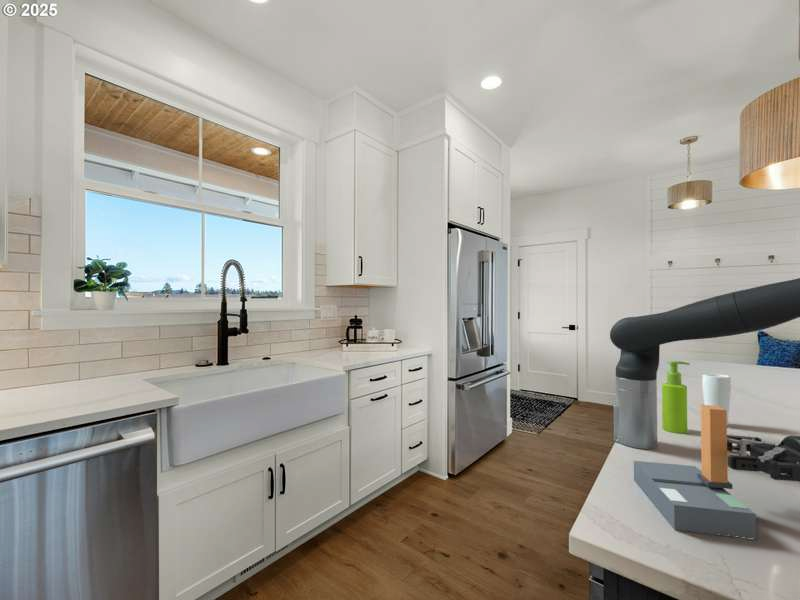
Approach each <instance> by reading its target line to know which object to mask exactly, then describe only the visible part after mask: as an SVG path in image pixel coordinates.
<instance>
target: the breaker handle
mask: <svg viewBox="0 0 800 600" xmlns="http://www.w3.org/2000/svg"><path fill="white" fill-rule="evenodd" d="M727 435H728V426H727V410H725V409H723V408H721V407H719V406H714V405H704V404H701V405H700V438H701V441H700V442H701V443H700V445H701V449H700V451H701V452H700V453H701V471H702V474H699V473H697V478H698V479H700V480H701V481H702V482H703V483H704V484H706V485H707V486H708V487H716V488H723V489H725V490H733V483H731V482H730V481H728V474H729V473H728V453H727Z"/></svg>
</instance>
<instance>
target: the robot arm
mask: <svg viewBox="0 0 800 600" xmlns="http://www.w3.org/2000/svg"><path fill="white" fill-rule="evenodd" d="M799 318H800V277H798V278H793V279H790V280H784V281H780V282H774V283H769V284H765V285H760V286H756V287H752V288H746V289H741V290H735V291H732V292H728V293H725V294H721V295H716V296H713V297H710V298H709V297H708V298H705V299H700V300H698V301H695V302H693V303H689V304H685V305H683V306H680V307H677V308H673V309H670V310H667V311H665V312H664V311H663V312H659V313H658V312H657V313H651V314H648V315H647V314H645V315H640V316H629V317H624V318H621V319H619V320H618V321H616V322H615V323H614V324H613V325H612V326H611V328H610V332H609V339H610V341H611V343H612V344H613V345H614V346H615V347H616V348H617V349H619V350H620V357H619V360H618V363H617V364H616V366H615V404H614V405H613V441H614V442H617V443H620V444H622V445H624V446H627V447H632V448H636V449H643V450H644V449H646V450H649V449H650V450H652V449H656V448H657V447H658V385H657V382H658V380H657V378H658V376H657V375H658V370H659V367H660V351H661V349H660V346H661V345H665V344H669V343H673V342H679V341H690V340H691V341H693V340H704V339H705V340H706V339H707V340H708V339H715V338H724V337H730V336H737V335H743V334H748V333H754V332H759V331H763V330H766V329H770V328H773V327H776V326H780V325H782V324H785V323H787V322H791V321H793V320H796V319H799ZM618 436H619V437H618ZM617 439H618V440H617ZM616 440H617V441H616ZM733 444H734V445H733ZM748 452H749V453H748ZM727 454H729V455H727V467H728V468H730V469H732V470H734V471H744V472H757V473H758V474H760V475H765V476H766V475H769V477H770V478H771V479H773V480H775V481H787V482H798V483H800V436H799V435H787V436H785V437H784V438H783V439H782V440H781V442H780V443H778V445H777V444H776V443H773V442H770V441H765V440H764V441H762V438H760V437H757V436H742V435H741V436H740V435H730V434H727Z"/></svg>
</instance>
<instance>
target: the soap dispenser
mask: <svg viewBox="0 0 800 600" xmlns="http://www.w3.org/2000/svg"><path fill="white" fill-rule="evenodd" d="M666 363H667V365H670V366H669V367H670V371H668V372H666V382H664V383H661V399H662V400H661V409H662V410H661V411H662V413H661V418H662V419H661V421H662V422H661V423H662V428H661V429H662V430H663V431H666V432H668V433H669V432H670V433H674V434H687V433H688V388H687V387H688V386H687V385H685V384H682V373H681V372H680V371H678V369H679V368H678V365H687V366H689V365H690V363H689V362H684V361H681V360H670V361H667V362H666Z"/></svg>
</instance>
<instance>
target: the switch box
mask: <svg viewBox="0 0 800 600" xmlns="http://www.w3.org/2000/svg"><path fill="white" fill-rule="evenodd" d="M697 473H699V474H702V469H700V468H699V467H697V466H696V465H688V464H675V463H664V462H652V461H640V460H633V481H634V482H635V484H636V485H637V486H638V487H639V488H640V489H641V491H642V492H643V493H644V494H645V495H646V497H647V498H648V499H649V501H650V502H651V503H652V504H653V505H654V507H655V508H656V509H657V510H658V511H659V513H660V514H661V515H662V517H663V518H664V519H665V520H666V521H667V522H668V523H669V525H670V526H671V528H672V529H673V528H674V529H673V530H674V531H680V530H682V531H681V532H688V531H690V532H689V533H697V532H698V534H705V533H708V534H707V535H713V534H718V535H717V536H721V535H727V536H726V537H729V536H738V537H745V538H744V539H746V538H754V539H756V536H757V535H756V512H754V511H753V510H751V509H750V508H749V507H748V506H746V505H745V504H744V503H742V502H741V501H740V500H739V499H738V498H736V497H735V496H733V495H732V494H731V493H729V491H727V489H726V488H716V487H708V486H707V485H706V484H704V483H703V482H702V481H701V480H700V479H698V478H697ZM675 529H676V530H675ZM699 532H700V533H699ZM719 534H720V535H719ZM728 535H729V536H728ZM754 539H753V540H754ZM756 540H757V539H756Z"/></svg>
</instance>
